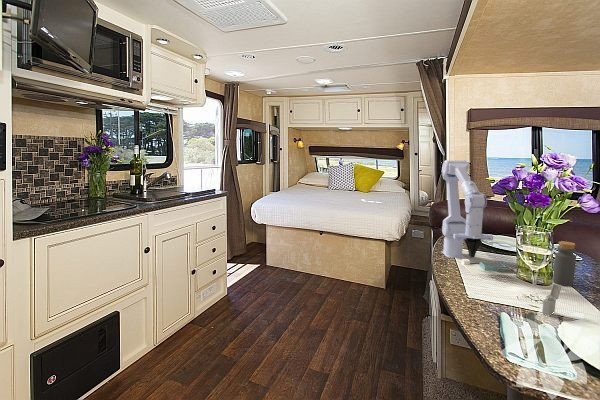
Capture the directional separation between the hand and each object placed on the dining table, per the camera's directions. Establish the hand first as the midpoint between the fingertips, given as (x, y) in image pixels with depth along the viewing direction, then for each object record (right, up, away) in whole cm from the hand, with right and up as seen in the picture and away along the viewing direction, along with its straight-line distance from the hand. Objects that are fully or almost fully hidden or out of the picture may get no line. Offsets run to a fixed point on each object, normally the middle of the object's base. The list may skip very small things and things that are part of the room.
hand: (471, 256), depth 133 cm
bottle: (+25, -7, -15) cm, 30 cm away
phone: (+8, -5, 0) cm, 9 cm away
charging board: (+6, -5, 0) cm, 8 cm away
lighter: (+5, -10, -36) cm, 38 cm away
